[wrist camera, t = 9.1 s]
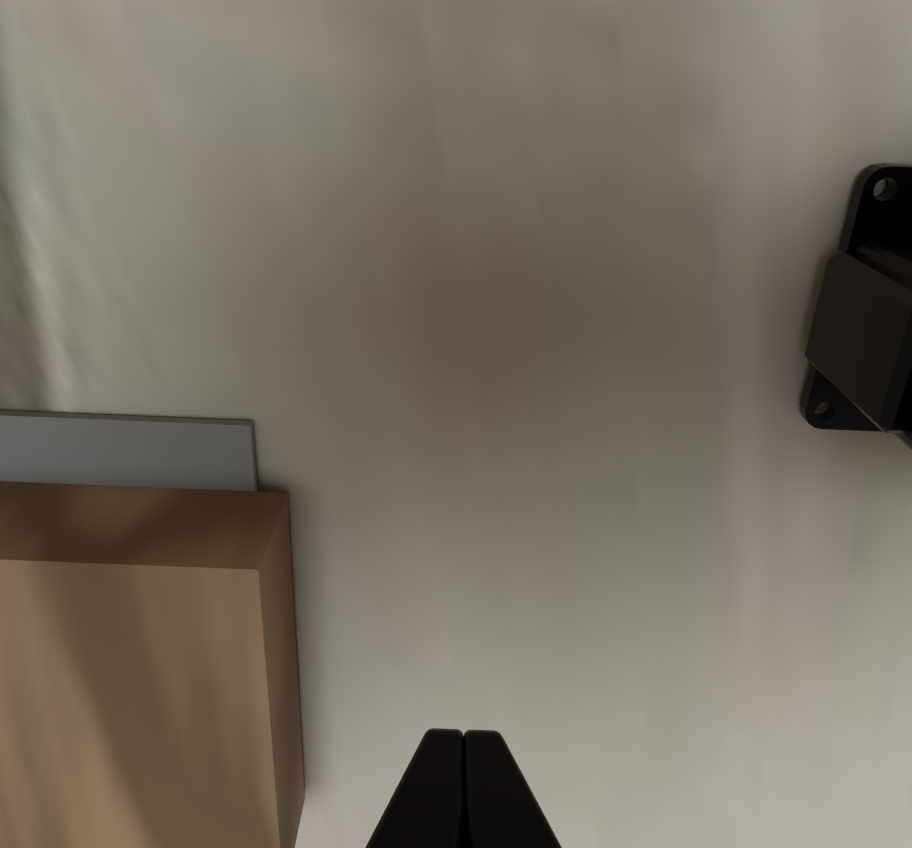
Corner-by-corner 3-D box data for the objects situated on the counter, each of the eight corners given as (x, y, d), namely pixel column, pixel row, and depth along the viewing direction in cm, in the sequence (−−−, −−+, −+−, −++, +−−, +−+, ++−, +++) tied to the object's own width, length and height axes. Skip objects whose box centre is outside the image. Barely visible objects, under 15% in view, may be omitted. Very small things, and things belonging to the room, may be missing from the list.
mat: (253, 420, 21) (250, 425, 21) (283, 829, 28) (281, 837, 28) (-166, 403, 21) (-174, 408, 21) (-31, 818, 28) (-36, 825, 28)
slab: (258, 569, 19) (-130, 554, 19) (283, 898, 24) (-19, 887, 24) (287, 492, 22) (-45, 479, 22) (304, 798, 27) (37, 788, 27)
